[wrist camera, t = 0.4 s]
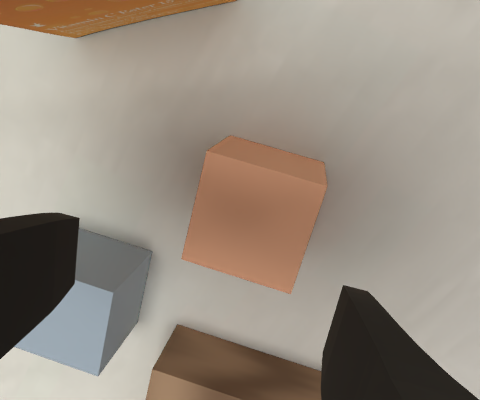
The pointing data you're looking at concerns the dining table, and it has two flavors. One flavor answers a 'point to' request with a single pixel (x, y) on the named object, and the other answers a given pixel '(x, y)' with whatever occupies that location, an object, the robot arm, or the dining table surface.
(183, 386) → the walnut block
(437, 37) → the dining table surface
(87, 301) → the slate-blue cube
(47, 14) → the small box
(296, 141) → the dining table surface
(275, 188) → the terracotta cube
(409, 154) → the dining table surface
